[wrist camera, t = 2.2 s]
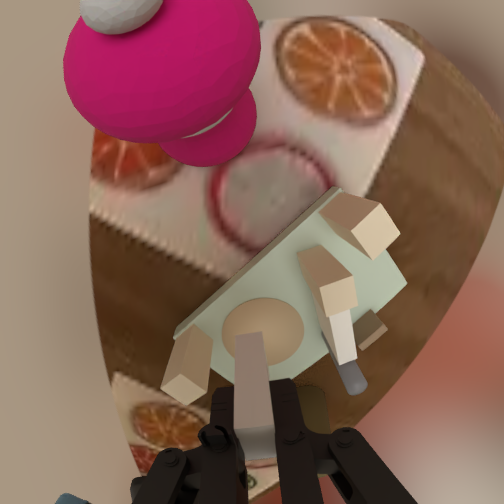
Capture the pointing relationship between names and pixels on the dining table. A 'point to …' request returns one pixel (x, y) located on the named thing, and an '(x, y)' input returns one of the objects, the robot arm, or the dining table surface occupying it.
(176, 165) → the dining table surface
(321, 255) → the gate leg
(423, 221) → the dining table surface
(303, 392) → the pepper shaker
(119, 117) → the pepper mill
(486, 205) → the dining table surface
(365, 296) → the stand
